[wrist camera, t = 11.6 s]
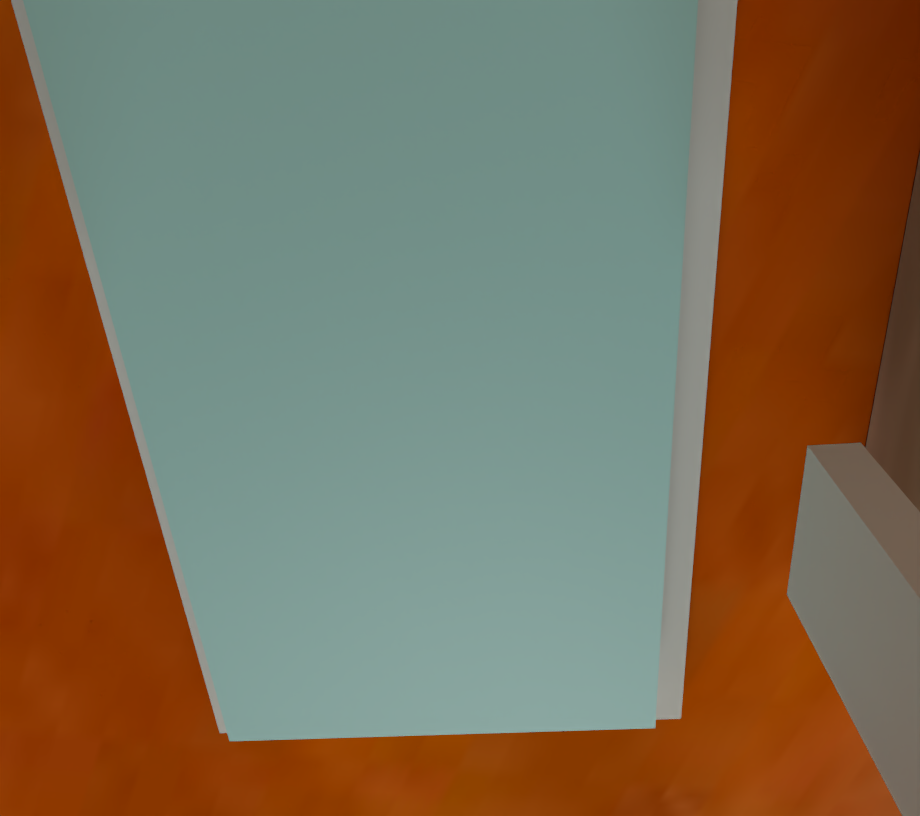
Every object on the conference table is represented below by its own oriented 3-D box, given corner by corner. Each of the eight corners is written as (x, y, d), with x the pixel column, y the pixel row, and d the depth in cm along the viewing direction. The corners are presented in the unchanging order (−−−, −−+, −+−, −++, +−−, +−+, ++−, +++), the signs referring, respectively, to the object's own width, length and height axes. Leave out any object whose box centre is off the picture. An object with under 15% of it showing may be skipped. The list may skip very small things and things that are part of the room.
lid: (246, 689, 21) (229, 741, 20) (48, -85, 13) (-3, -90, 12) (642, 676, 21) (655, 728, 19) (681, -136, 13) (707, -149, 11)
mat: (231, 697, 23) (219, 733, 22) (-4, -180, 14) (-44, -192, 13) (671, 683, 23) (680, 718, 21) (735, -244, 13) (758, -262, 12)
